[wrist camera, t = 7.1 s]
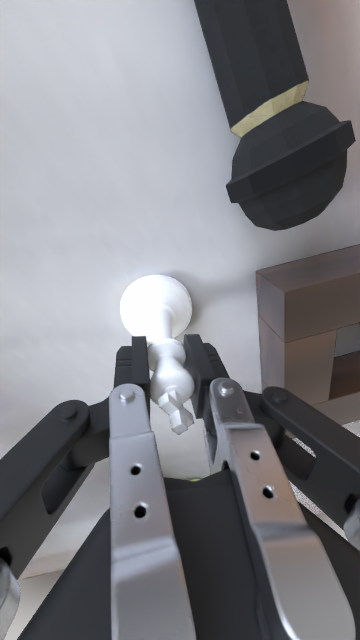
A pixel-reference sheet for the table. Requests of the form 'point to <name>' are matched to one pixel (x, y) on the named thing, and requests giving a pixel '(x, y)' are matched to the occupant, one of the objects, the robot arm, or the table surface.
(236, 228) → the table surface
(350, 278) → the holder
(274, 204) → the microphone
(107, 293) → the table surface
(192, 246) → the table surface
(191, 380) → the chess piece
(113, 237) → the table surface
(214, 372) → the robot arm
